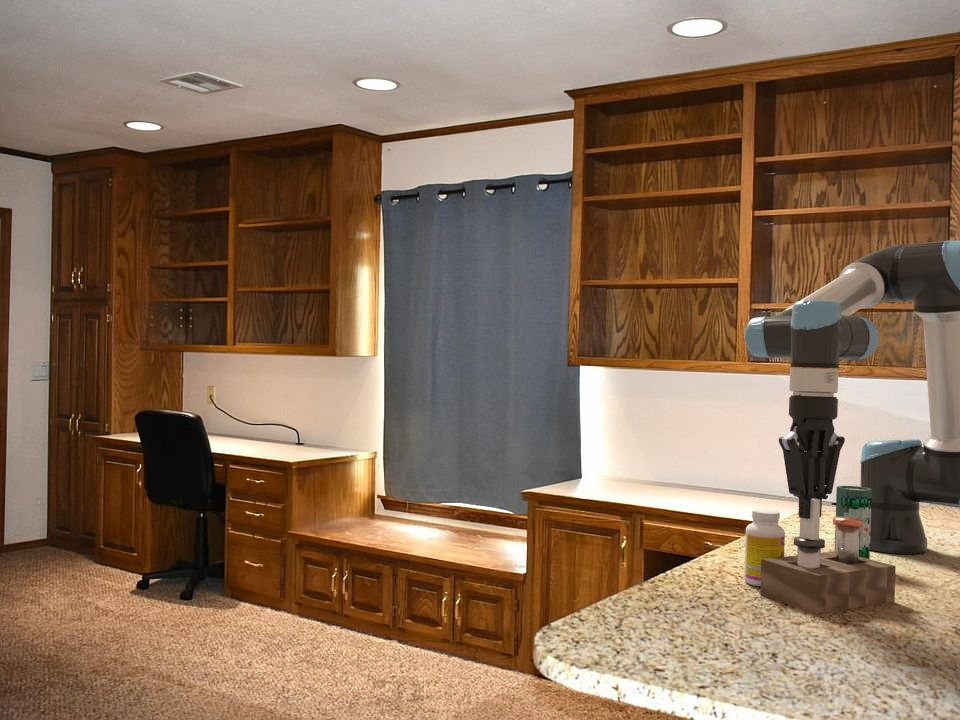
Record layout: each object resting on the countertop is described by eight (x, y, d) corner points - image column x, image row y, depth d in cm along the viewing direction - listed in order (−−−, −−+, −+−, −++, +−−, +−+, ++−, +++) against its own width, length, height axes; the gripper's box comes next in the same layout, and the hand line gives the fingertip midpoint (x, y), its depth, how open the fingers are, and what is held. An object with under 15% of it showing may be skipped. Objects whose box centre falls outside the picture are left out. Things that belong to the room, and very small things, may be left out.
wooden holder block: (835, 584, 160) (836, 550, 160) (894, 602, 149) (895, 565, 149) (760, 594, 152) (761, 559, 152) (817, 614, 141) (818, 575, 141)
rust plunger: (844, 567, 156) (846, 515, 156) (868, 574, 152) (869, 520, 151) (825, 570, 154) (826, 517, 154) (848, 576, 149) (849, 522, 149)
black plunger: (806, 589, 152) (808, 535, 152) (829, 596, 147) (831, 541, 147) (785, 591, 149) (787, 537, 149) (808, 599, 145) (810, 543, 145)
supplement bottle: (785, 589, 156) (788, 515, 155) (745, 586, 157) (748, 513, 157) (780, 580, 162) (783, 509, 162) (742, 577, 163) (744, 506, 163)
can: (852, 569, 172) (854, 491, 172) (828, 562, 178) (830, 486, 178) (875, 567, 175) (878, 489, 175) (851, 560, 180) (853, 485, 180)
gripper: (802, 395, 142) (798, 545, 142) (860, 395, 148) (855, 539, 148) (767, 393, 148) (762, 536, 149) (823, 393, 155) (819, 531, 155)
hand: (809, 537), depth 148 cm, fingers closed
